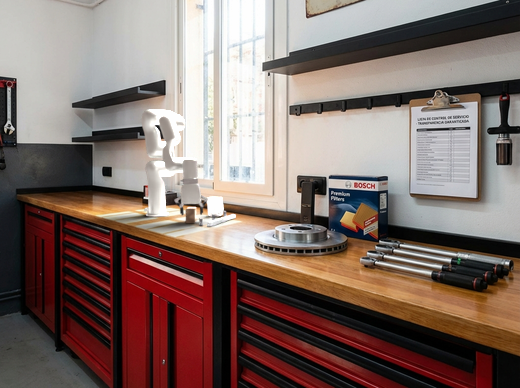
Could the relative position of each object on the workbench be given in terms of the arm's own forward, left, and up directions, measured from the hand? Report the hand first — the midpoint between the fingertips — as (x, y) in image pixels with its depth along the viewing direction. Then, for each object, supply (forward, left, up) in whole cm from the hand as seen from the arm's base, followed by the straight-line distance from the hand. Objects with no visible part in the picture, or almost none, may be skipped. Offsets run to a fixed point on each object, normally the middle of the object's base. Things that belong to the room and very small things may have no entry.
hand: (191, 214), depth 213 cm
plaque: (-1, 0, -4) cm, 4 cm away
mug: (+3, +21, -4) cm, 22 cm away
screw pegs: (+10, +4, -4) cm, 12 cm away
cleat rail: (+15, +4, -4) cm, 16 cm away
